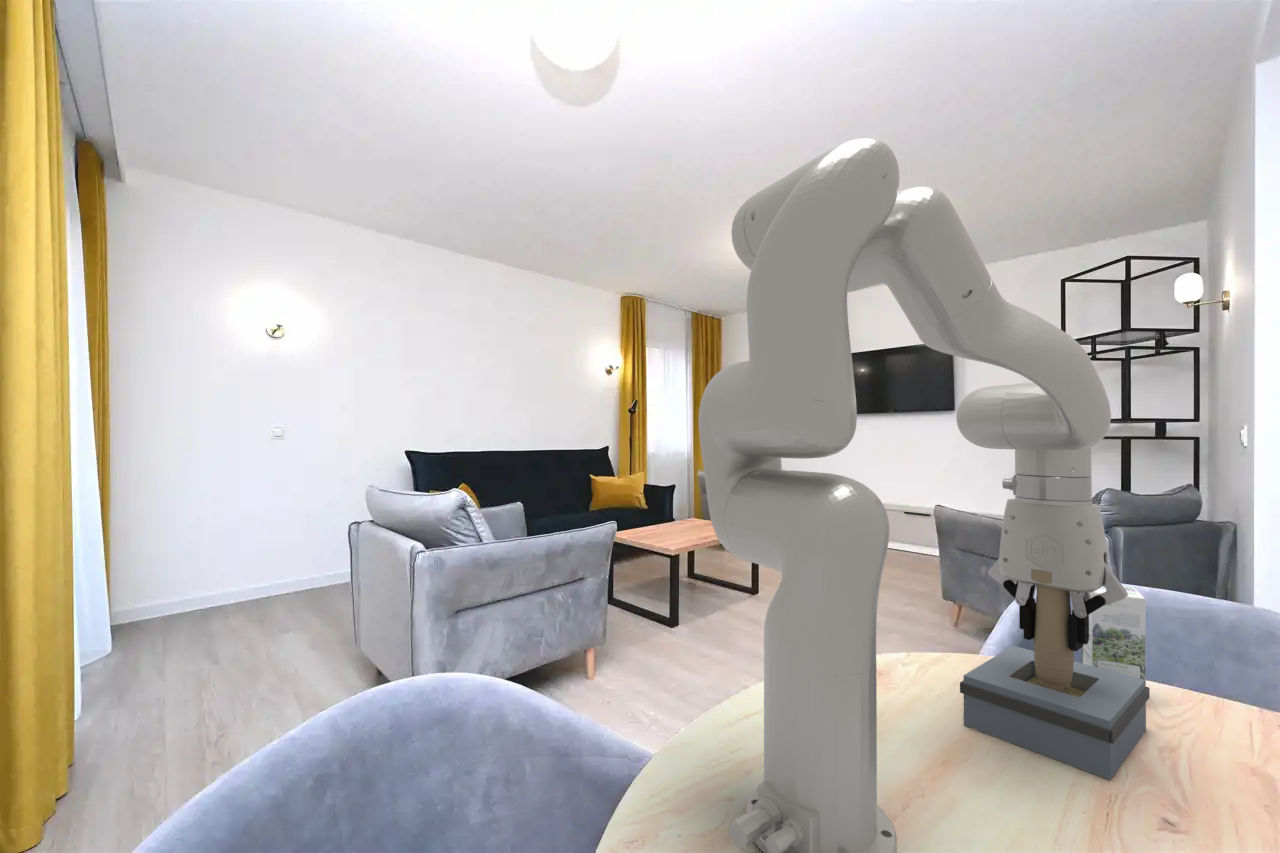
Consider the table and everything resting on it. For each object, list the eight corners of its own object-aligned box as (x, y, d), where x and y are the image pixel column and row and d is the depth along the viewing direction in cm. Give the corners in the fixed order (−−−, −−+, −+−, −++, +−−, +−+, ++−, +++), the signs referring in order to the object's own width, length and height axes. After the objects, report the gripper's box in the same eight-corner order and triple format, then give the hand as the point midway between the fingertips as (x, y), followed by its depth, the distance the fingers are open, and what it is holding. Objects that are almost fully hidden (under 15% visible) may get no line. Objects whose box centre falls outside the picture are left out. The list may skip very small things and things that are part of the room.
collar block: (1113, 782, 57) (1112, 723, 58) (960, 724, 69) (959, 675, 69) (1149, 730, 68) (1149, 679, 68) (1011, 687, 79) (1011, 644, 79)
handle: (1094, 698, 67) (1093, 571, 67) (1053, 705, 65) (1052, 574, 65) (1054, 681, 72) (1053, 562, 72) (1014, 687, 70) (1014, 565, 70)
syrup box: (1132, 690, 79) (1131, 585, 79) (1147, 708, 73) (1146, 595, 74) (1081, 681, 81) (1080, 580, 82) (1092, 698, 76) (1091, 590, 76)
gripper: (965, 487, 73) (965, 630, 73) (1134, 498, 60) (1136, 673, 60) (988, 484, 78) (989, 618, 77) (1150, 494, 65) (1152, 656, 64)
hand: (1053, 640), depth 68 cm, fingers closed on handle, 3 cm apart
